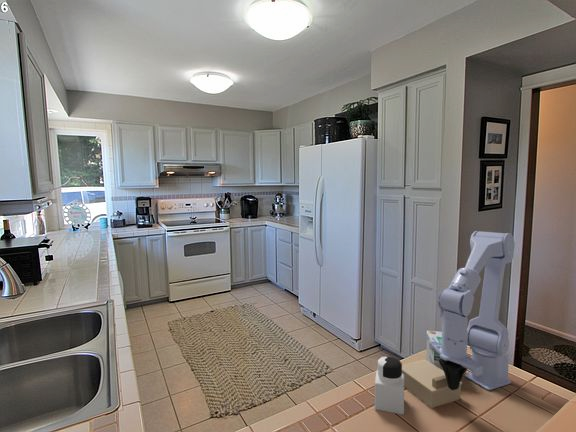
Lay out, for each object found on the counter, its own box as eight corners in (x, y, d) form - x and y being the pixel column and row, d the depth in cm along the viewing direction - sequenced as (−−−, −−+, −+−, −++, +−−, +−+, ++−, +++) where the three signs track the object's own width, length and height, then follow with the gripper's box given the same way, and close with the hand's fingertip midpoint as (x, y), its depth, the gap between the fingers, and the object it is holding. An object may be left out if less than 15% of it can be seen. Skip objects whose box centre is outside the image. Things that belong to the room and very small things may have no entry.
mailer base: (424, 374, 99) (424, 361, 99) (460, 398, 87) (460, 384, 87) (397, 381, 96) (398, 368, 95) (431, 408, 83) (432, 393, 83)
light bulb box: (457, 382, 95) (458, 346, 94) (433, 379, 96) (433, 344, 96) (447, 363, 105) (447, 331, 105) (425, 361, 107) (425, 329, 106)
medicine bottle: (403, 398, 88) (404, 355, 87) (403, 415, 81) (404, 369, 80) (376, 393, 90) (376, 351, 89) (374, 409, 83) (374, 364, 82)
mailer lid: (424, 360, 99) (424, 352, 99) (461, 384, 87) (462, 374, 86) (397, 367, 95) (397, 359, 95) (432, 393, 83) (432, 383, 83)
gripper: (420, 328, 87) (420, 376, 88) (467, 352, 74) (466, 409, 75) (440, 324, 90) (439, 371, 91) (489, 346, 76) (488, 401, 77)
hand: (453, 388), depth 83 cm, fingers closed
